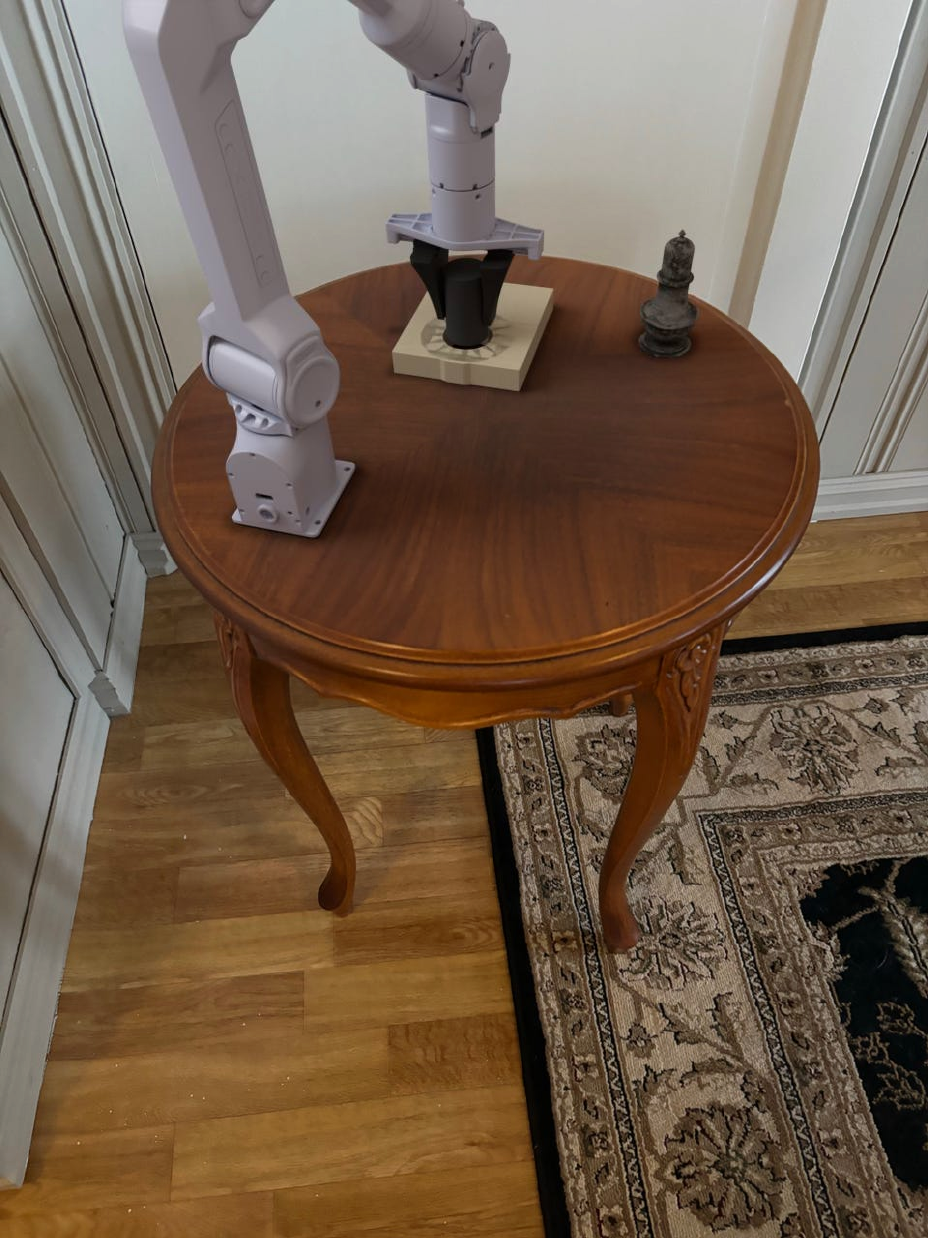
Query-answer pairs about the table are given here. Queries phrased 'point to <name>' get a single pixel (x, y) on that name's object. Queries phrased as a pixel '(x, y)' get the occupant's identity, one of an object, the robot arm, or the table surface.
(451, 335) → the dark grey cylinder
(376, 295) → the table surface
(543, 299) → the back plate
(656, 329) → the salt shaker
